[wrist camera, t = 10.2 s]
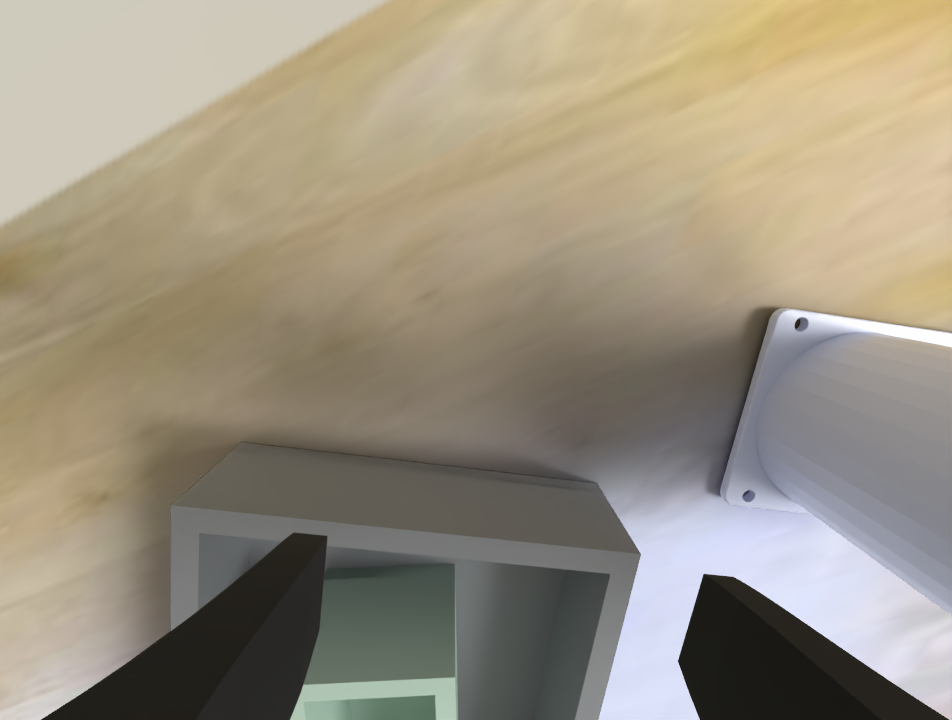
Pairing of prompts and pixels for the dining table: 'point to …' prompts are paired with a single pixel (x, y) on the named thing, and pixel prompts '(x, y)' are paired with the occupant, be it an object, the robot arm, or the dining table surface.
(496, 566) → the tray
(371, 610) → the box
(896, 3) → the dining table surface
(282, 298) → the dining table surface
